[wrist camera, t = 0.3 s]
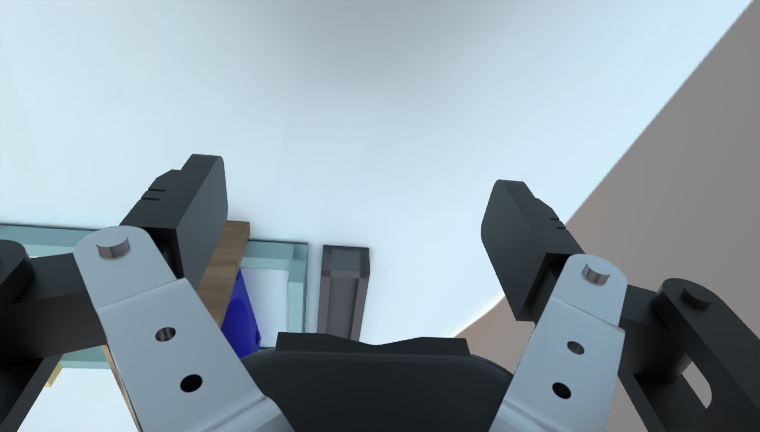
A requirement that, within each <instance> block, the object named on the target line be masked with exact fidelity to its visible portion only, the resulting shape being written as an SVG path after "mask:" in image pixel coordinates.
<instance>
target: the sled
mask: <svg viewBox="0 0 760 432" xmlns="http://www.w3.org/2000/svg"><path fill="white" fill-rule="evenodd" d="M93 232H95V231H82V230H67V229H51V228H35V227H19V226H3V225H0V239H4V240H12V241H16V242H18V243H20V244H22V245H23V246H24V248H25V250H26V252H27V254H28V256H41V257H44V256H52V255H59V254H66V253H72V252H74V248H75V246H76V245H77V243H78V242H79V241H80V240H81V239H83V238H84V237H86V236H87V235H89V234H91V233H93ZM307 262H308V245H303V244H287V243H272V242H256V241H248V242H247V245H246V248H245V252H244V255H243V258H242V261H241V265H240V268H257V269H274V270H290V271H289V277H288V332H294V333H305V314H306V288H307ZM261 350H263V349H259V350H258V351H261ZM62 368H90V369H111V368H110V365H109V363H108V361H107V359H106V356H105V354H104V352H103V349H102V347H101V346H97V347H93V348H88V349H83V350H78V351H74V352H69V353H64V354H63V356H62V357H61V359H60V361H59V362H58V364H57V366H56V367H55V369H54V371H53V372H52V374H51V376H50V377H49V379H48V381H47V382H46V384H45V386H46V387H51V385H52V384H53V382H54V381H55V379H56V377H57V376H58V374H59V373H60V371H61V369H62Z"/></svg>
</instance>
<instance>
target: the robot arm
mask: <svg viewBox="0 0 760 432" xmlns="http://www.w3.org/2000/svg"><path fill="white" fill-rule="evenodd" d="M227 213H228V202H227V191H226V180H225V170H224V162H223V158H222V157H221V156H214V155H202V154H192V155H191V156H190V158H189V159H188V160H187V162H186V163H185V165H184V166H183V167H182V169H181V170H170V171H168V172H166V173H165V174H163V175H161V176H159V177H158V178H156V179H155V181H154V182H153V183H152V184H151V186H150V187H149V188H148V191H146V192H145V193H144V194H143V196H142V197H141V200H139V201H138V202H137V203H136V204H135V206H134V207H133V208H132V210H131V211H130V212H129V213H128V215H127V216H126V217H125V218H124V220H123V221H122V222H121V223H120V225H119V226H114V227H108V228H104V229H101V230H98V231H95V232H93V233H91V234H89V235H87V236H86V237H84V238H83V239H81V240H80V241H79V242H78V243H77V245H76V246H75V248H74V252H72V253H66V254H59V255H52V256H44V257H37V258H29V257H28V254H27V252H26V250H25V248H24V246H23V245H22V244H20V243H18V242H16V241H12V240H4V239H0V432H17V430H18V429H19V427H20V425H21V424H22V422H23V420H24V419H25V417H26V415H27V414H28V412H29V410H30V409H31V407H32V406H33V404H34V402H35V401H36V399H37V397H38V396H39V394H40V392H41V391H42V389H43V387H44V386H45V384H46V382H47V381H48V379H49V377H50V376H51V374H52V372H53V371H54V369H55V367H56V366H57V364H58V362H59V361H60V359H61V357H62V356H63V354H64V353H69V352H74V351H78V350H83V349H88V348H93V347H97V346H102V345H107V348H108V351H109V353H110V356H111V358H112V361H113V363H114V366H115V369H116V371H117V374H118V376H119V379H120V381H121V384H122V387H123V389H124V392H125V394H126V397H127V399H128V402H129V405H130V407H131V410H132V412H133V415H134V418H135V420H136V423H137V426H138V428H139V431H140V432H606V428H607V423H608V418H609V413H610V408H611V403H612V398H613V393H614V388H615V383H616V378H617V375H618V377H619V379H620V380H621V382H622V384H623V386H624V388H625V390H626V392H627V393H628V395H629V397H630V399H631V401H632V403H633V405H634V406H635V408H636V410H637V412H638V414H639V416H640V417H641V419H642V421H643V423H644V425H645V426H646V428H647V430H648V432H760V339H759V338H758V337H757V336H756V335H755V334H754V333H753V332H752V331H751V330H750V329H749V328H748V327H747V326H746V325H745V324H744V323H743V322H742V320H741V319H739V317H738V316H737V315H736V314H735V313H734V312H733V311H732V310H731V309H730V308H729V307H728V306H727V305H726V304H725V303H724V301H722V300H721V299H720V298H719V297H718V296H717V295H715V294H714V293H713V292H711V291H710V290H708V289H706V288H705V287H703V286H701V285H699V284H696V283H694V282H691V281H688V280H684V279H679V278H670V279H667V280H665V281H664V282H663V284H662V285H661V286H660V288H659V289H658V291H657V292H654V291H650V290H647V289H643V288H639V287H635V286H632V285H628V284H627V280H626V278H625V276H624V274H623V273H622V272H621V271H620V270H619V269H618V268H617V267H615V266H614V265H613V264H611V263H609V262H608V261H606V260H604V259H601V258H599V257H596V256H592V255H588V254H585V253H584V251H583V250H582V249H581V247H580V246H579V245H578V243H577V242H576V241H575V239H574V238H573V236H572V235H571V234H570V232H569V231H568V230H566V227H565V226H564V224H563V223H562V222H561V221H559V218H558V216H557V215H556V214H555V212H554V211H553V209H552V208H551V207H549V206H548V205H546V204H545V203H544V202H542V201H541V200H540V199H538V198H535V197H534V195H533V194H532V193H531V191H530V190H529V188H528V187H527V185H526V184H525V183H524V182H522V181H511V180H497V181H496V182H495V184H494V186H493V189H492V192H491V196H490V199H489V202H488V205H487V208H486V211H485V215H484V218H483V221H482V225H481V239H482V242H483V245H484V247H485V249H486V252H487V254H488V256H489V259H490V261H491V263H492V265H493V268H494V270H495V272H496V275H497V277H498V279H499V282H500V284H501V286H502V289H503V291H504V293H505V296H506V298H507V300H508V302H509V305H510V307H511V309H512V312H513V314H514V316H515V319H516V320H517V321H533V322H534V323H535V325H536V326H535V328H534V330H533V332H532V334H531V337H530V339H529V341H528V343H527V345H526V347H525V349H524V352H523V354H522V356H521V358H520V360H519V362H518V365H517V367H516V369H515V371H514V373H513V374H512V373H510V372H509V371H508V370H506V369H505V368H503V367H501V366H499V365H498V364H496V363H494V362H492V361H490V360H488V359H485V358H483V357H480V356H477V355H474V354H470V352H469V348H468V345H467V341H466V339H464V338H438V337H418V338H413V339H408V340H403V341H398V342H392V343H387V344H382V345H370V344H366V343H362V342H358V341H354V340H350V339H346V338H342V337H338V336H334V335H330V334H323V333H294V332H278V336H277V342H276V347H273V348H268V349H264V350H261V351H257V352H254V353H252V354H250V355H247V356H245V357H243V358H241V359H239V358H238V356H237V355H236V353H235V352H234V350H233V349H232V347H231V346H230V344H229V343H228V341H227V339H226V338H225V336H224V335H223V333H222V332H221V330H220V329H219V327H218V326H217V324H216V323H215V321H214V320H213V318H212V316H211V315H210V313H209V312H208V310H207V309H206V307H205V306H204V304H203V303H202V301H201V300H200V298H199V297H198V295H197V293H196V291H197V289H198V287H199V284H200V282H201V280H202V277H203V275H204V273H205V270H206V268H207V266H208V263H209V261H210V259H211V256H212V254H213V252H214V249H215V247H216V245H217V243H218V240H219V238H220V236H221V233H222V231H223V229H224V226H225V224H226V220H227ZM692 361H693V362H694V364H695V365H696V366H697V368H698V369H699V370H700V372H701V373H702V374H703V376H704V377H705V378H706V380H707V381H708V383H709V385H710V388H711V392H712V400H711V403H710V405H709V406H708V408H707V409H706V408H705V406H704V405H703V404H702V403H701V401H700V399H699V398H698V396H697V395H696V394H695V392H694V391H693V389H692V388H691V386H690V385H689V384H688V382H687V381H686V379H685V378H684V377H683V375H682V373H683V372H684V371H685V369H686V368H687V367H688V366H689V365H690V363H691V362H692Z"/></svg>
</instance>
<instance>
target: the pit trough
mask: <svg viewBox="0 0 760 432" xmlns="http://www.w3.org/2000/svg"><path fill="white" fill-rule="evenodd" d="M369 276H370V261H369V248H359V247H343V246H328V245H323V257H322V269H321V284H320V298H319V313H318V328H317V333H323V334H330V335H334V336H338V337H342V338H346V339H350V340H354V341H358V342H359V336H360V330H361V324H362V318H363V312H364V306H365V300H366V294H367V288H368V282H369Z"/></svg>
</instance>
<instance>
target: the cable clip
mask: <svg viewBox="0 0 760 432" xmlns="http://www.w3.org/2000/svg"><path fill="white" fill-rule="evenodd" d="M221 332H222V333H223V335H224V336H225V338H226V339H227V341H228V343H229V344H230V346H231V347H232V349H233V350H234V352H235V353H236V355H237V356H238V358H239V359H241V358H243V357H245V356H247V355H250V354H252V353H254V352H257V351H258V350H259V345H260V340H261V337H260V333H259V330H258V327H257V324H256V320H255V317H254V314H253V310H252V307H251V304H250V300H249V297H248V294H247V290H246V287H245V284H244V281H243V277H242V274H241V271H240V268H239V271H238V274H237V278H236V281H235V284H234V288H233V291H232V294H231V297H230V301H229V304H228V307H227V310H226V314H225V317H224V320H223V324H222V327H221Z"/></svg>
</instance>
